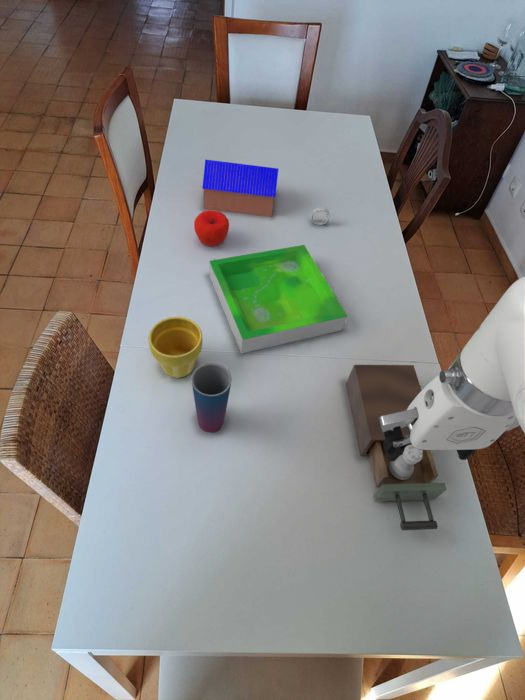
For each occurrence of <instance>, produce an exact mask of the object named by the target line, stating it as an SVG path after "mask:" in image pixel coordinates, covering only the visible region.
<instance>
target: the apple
mask: <svg viewBox="0 0 525 700" xmlns="http://www.w3.org/2000/svg"><path fill="white" fill-rule="evenodd" d="M193 228H194V232H195V235H196V237H197V239H198V240H199V241H200V243H201V244H202V245H203V246H206V247H218V246H219V245H221V244H222V243H223V242H224V241H225V240H226V238H227V236H228V233H229V229H230V221H229V218H228V217H227V216H226V215H225V214H224V213H223V212H222V211H219V210H211V209H207V210H203V211H202V212H200V213H199V214H198V215H197V216H196V217H195V218H194V222H193Z"/></svg>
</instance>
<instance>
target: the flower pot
mask: <svg viewBox="0 0 525 700" xmlns="http://www.w3.org/2000/svg"><path fill="white" fill-rule="evenodd" d="M203 342H204V341H203V331H202V329H201V328H200V326H199V325H198V323H196V322H195V321H194V320H192V319H189V318H188V317H187V318H186V317H183V316H171V317H166V318H164V319H161V320H160V321H158V322H156V323H155V324H154V325H153V326H152V327H151V329H150V331H149V334H148V345H149V351H150V353H151V356H152V357H153V358H154V359H155V361H157V363H158V364H159V365H160V367H161V368H162V371H163V372H164V373H165V374H166V375H167V376H169V377H172V378H177V379H178V378H184V377H186V376H188V375H190V374H191V373H192V372H193V370H194V368H195V364H196V361H197V358H199V356H200V354H201V352H202V350H203Z"/></svg>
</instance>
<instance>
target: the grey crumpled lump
mask: <svg viewBox="0 0 525 700" xmlns="http://www.w3.org/2000/svg"><path fill="white" fill-rule="evenodd" d="M318 212H325V213H326V218H325V219H324V220H321V221H317V220H315V219H314V214H315V213H318ZM310 219H311V223H313V224H314V225H316V226H323V225H326V224H327V223H329V221H330V212H329V210H328V208H326V207H318V208H315V209H312V211H311V214H310Z"/></svg>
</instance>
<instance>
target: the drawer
mask: <svg viewBox="0 0 525 700" xmlns="http://www.w3.org/2000/svg"><path fill="white" fill-rule="evenodd" d="M383 442H384V441H375V442H373V444H372V445H371V447H370V448H369V450H368V452H369V456H368V457H369V461H370V465H371V469H372V474H373V479H374V485H375V487H376V488H378V489H377V490H376V491H375V492H374V494H373V500H374V502H396V505H397V509H398V510H397V511H398V514H399V518H400V523H399V526H400V530H401V531H429V530H430V531H431V530H438V527H439V526H438V522H437V521H436V520H434V516H433V511H432V508H431V504H430V502H429V501H435V500H436V499H438V498H439V497H440V496H441V495H443V493H445V492H446V491H447V489H448V488H447V486H446V485H447V484H446V483H445V482H434V481H435V480H436V479H437V478H438V477H439V473H438V470H437V466H436V463H435V461H434V456H433V454H432V450H422V451H423V453H422V454H423V457H422V460H421V461H419V462H417V463H416V464H414V471H413V474H412V475H411V476H410V478H408V479H406V480H400V479H398V478H396V477H395V476H394V475H392V473H391V472H390V470H389V463H390V460H389V457H388V452H385V451H384V446H383ZM408 445H412V443H409V444H406V445H404V446H405V448H406V446H408ZM420 450H421V449H420ZM403 452H404V451H403ZM403 452H402V453H401V454H400V455H403ZM402 501H403V502H404V501H405V502H406V501H407V502H408V501H423V503H424V506H425V510H426V514H427V517H428V520H408V521H407V520H406V516H405V512H404V509H403V505H402Z"/></svg>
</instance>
